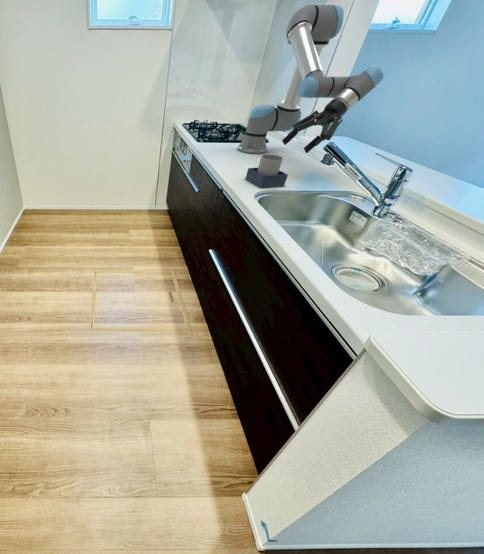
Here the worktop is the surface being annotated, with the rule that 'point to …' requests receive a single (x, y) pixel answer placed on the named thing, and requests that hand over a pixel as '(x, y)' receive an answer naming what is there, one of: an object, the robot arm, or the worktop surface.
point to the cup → (269, 165)
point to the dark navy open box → (266, 178)
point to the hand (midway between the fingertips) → (293, 146)
